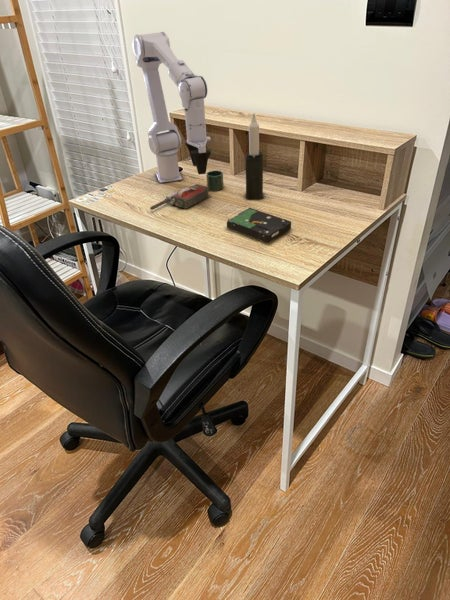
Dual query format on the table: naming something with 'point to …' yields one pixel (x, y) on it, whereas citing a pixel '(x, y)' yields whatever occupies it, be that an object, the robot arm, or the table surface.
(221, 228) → the table surface
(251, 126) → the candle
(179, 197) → the walkie-talkie
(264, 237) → the disk drive
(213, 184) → the green cup
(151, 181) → the table surface
